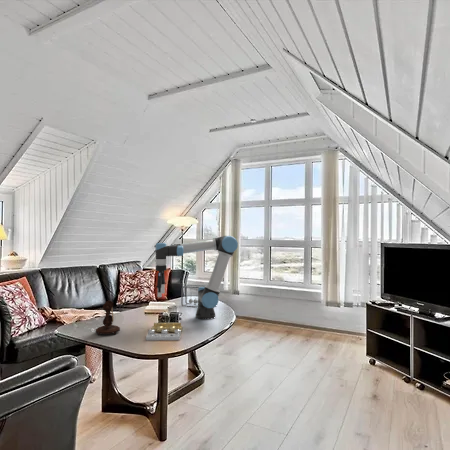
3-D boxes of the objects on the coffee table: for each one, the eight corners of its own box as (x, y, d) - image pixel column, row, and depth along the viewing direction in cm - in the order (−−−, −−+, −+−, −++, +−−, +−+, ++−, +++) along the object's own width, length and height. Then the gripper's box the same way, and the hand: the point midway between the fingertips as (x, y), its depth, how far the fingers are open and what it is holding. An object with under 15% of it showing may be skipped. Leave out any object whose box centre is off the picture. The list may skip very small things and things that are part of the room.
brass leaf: (182, 328, 237) (182, 322, 237) (181, 333, 226) (181, 327, 226) (152, 328, 236) (152, 322, 236) (149, 333, 226) (149, 327, 226)
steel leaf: (180, 334, 223) (180, 328, 223) (179, 340, 212) (179, 333, 212) (149, 335, 222) (149, 329, 222) (145, 340, 211) (145, 334, 211)
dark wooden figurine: (118, 335, 220) (119, 303, 221) (93, 336, 217) (94, 304, 218) (120, 329, 235) (121, 299, 235) (97, 330, 232) (98, 299, 232)
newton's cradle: (181, 306, 306) (181, 286, 306) (185, 304, 316) (185, 284, 316) (214, 308, 298) (214, 287, 298) (217, 306, 308) (217, 286, 308)
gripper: (158, 263, 261) (158, 292, 261) (152, 266, 236) (152, 298, 236) (168, 263, 261) (169, 291, 261) (163, 266, 236) (163, 298, 236)
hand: (161, 295), depth 248 cm, fingers open, 13 cm apart
